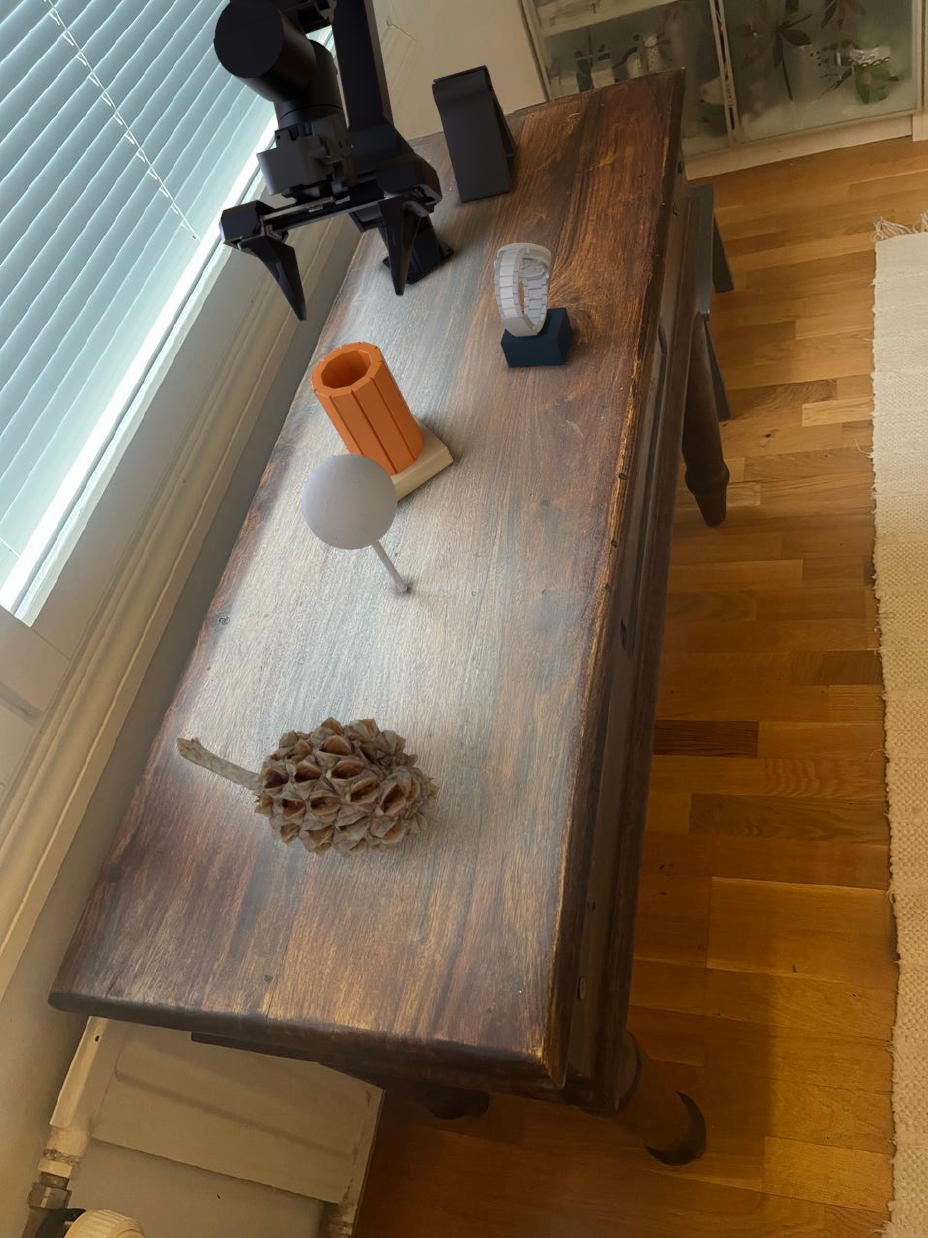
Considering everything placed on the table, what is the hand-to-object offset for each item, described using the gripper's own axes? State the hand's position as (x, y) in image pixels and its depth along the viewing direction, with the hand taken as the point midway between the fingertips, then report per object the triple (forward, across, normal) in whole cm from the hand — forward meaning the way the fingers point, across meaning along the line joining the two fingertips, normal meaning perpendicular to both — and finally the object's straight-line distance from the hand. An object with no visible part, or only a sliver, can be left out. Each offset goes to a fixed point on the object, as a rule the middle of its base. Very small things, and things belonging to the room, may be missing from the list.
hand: (350, 308), depth 81 cm
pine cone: (+38, -3, -19) cm, 43 cm away
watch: (+6, +14, +12) cm, 20 cm away
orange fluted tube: (+12, 0, +3) cm, 13 cm away
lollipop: (+24, +2, -6) cm, 25 cm away
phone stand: (-18, +8, +36) cm, 41 cm away
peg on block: (+14, 0, +4) cm, 15 cm away
